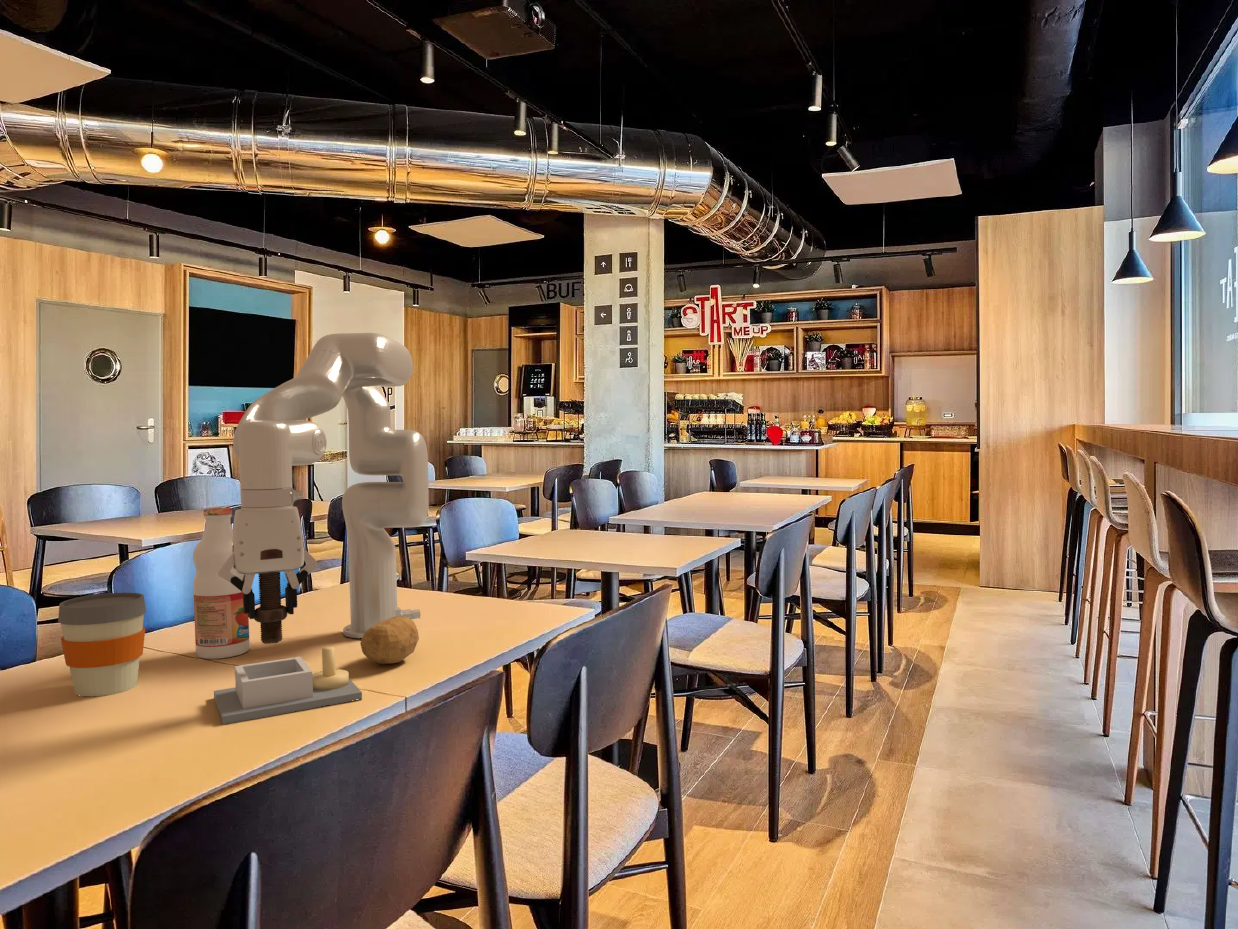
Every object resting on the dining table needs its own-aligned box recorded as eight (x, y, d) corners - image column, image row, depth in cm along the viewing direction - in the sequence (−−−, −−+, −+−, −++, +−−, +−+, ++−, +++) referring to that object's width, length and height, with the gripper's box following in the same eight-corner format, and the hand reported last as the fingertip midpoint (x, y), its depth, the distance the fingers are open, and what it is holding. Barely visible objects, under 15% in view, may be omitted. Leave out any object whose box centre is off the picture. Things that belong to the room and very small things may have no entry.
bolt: (261, 637, 134) (258, 545, 133) (293, 636, 134) (290, 544, 133) (248, 647, 128) (245, 550, 127) (282, 646, 128) (279, 549, 128)
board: (342, 677, 144) (340, 636, 143) (362, 699, 132) (360, 654, 131) (214, 698, 134) (212, 654, 133) (222, 724, 122) (221, 676, 121)
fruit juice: (193, 651, 162) (187, 508, 161) (245, 644, 167) (240, 505, 166) (199, 663, 154) (193, 512, 153) (253, 654, 159) (248, 509, 158)
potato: (430, 651, 160) (429, 610, 159) (403, 673, 146) (402, 628, 145) (381, 650, 161) (379, 609, 160) (350, 672, 147) (349, 627, 146)
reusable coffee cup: (85, 705, 131) (80, 611, 130) (46, 692, 138) (42, 603, 137) (164, 683, 142) (160, 596, 141) (125, 673, 148) (121, 589, 148)
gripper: (318, 495, 138) (322, 604, 138) (204, 501, 129) (208, 617, 130) (328, 498, 131) (331, 612, 132) (208, 505, 123) (213, 627, 123)
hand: (270, 614), depth 131 cm, fingers closed on bolt, 5 cm apart
